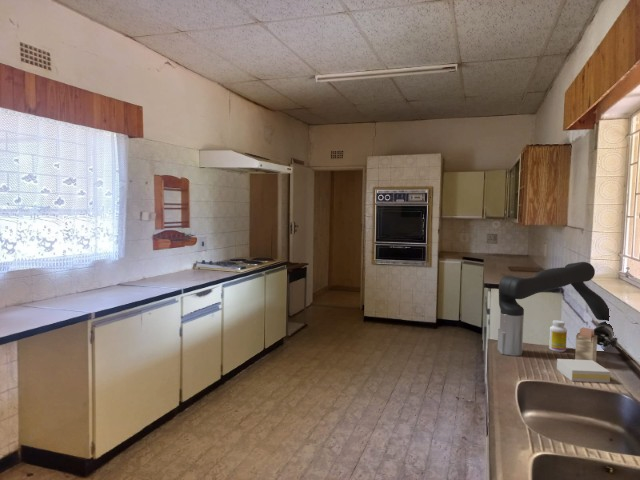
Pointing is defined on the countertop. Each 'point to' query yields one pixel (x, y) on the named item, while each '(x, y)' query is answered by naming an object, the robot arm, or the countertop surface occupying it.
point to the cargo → (587, 332)
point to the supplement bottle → (557, 336)
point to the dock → (583, 370)
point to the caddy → (585, 348)
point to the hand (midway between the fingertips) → (592, 342)
